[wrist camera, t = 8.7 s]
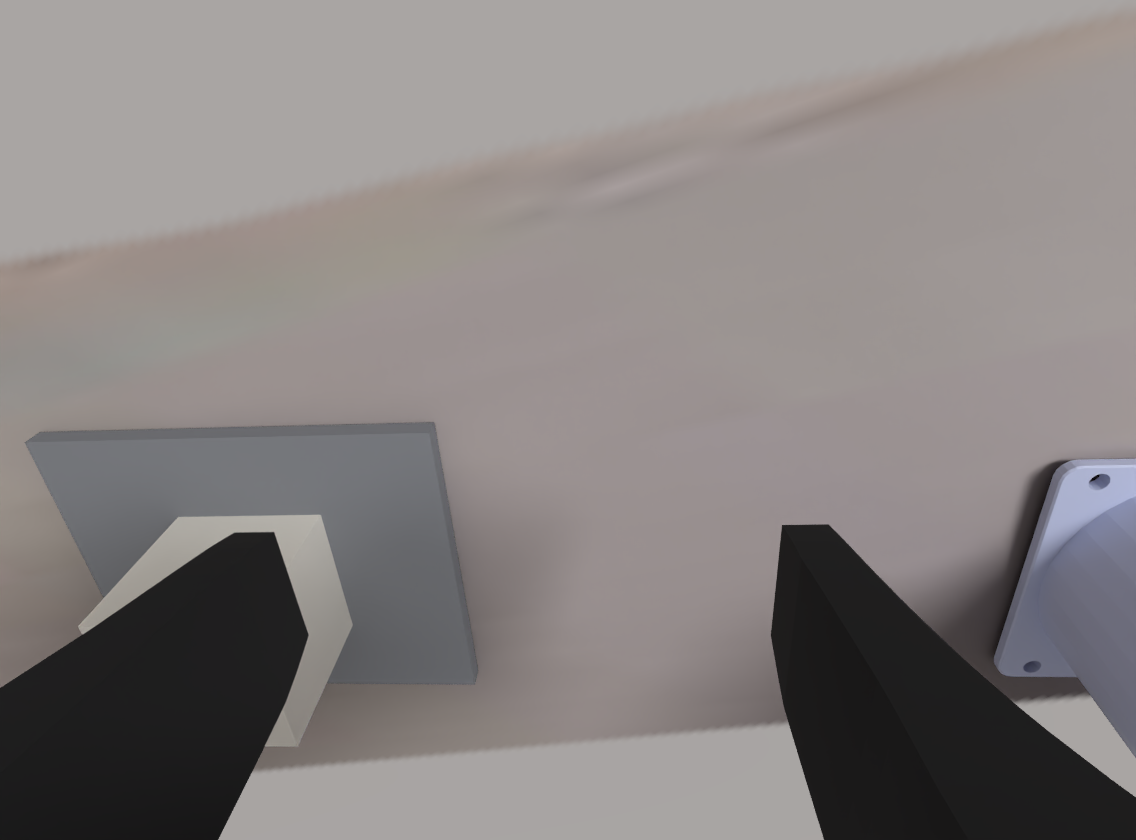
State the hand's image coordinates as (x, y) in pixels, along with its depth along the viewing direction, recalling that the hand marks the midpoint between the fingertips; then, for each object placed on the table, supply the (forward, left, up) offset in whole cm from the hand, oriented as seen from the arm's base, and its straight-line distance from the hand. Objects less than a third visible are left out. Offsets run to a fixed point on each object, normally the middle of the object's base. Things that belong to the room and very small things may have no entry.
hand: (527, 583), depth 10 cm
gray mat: (+10, +7, -9) cm, 16 cm away
